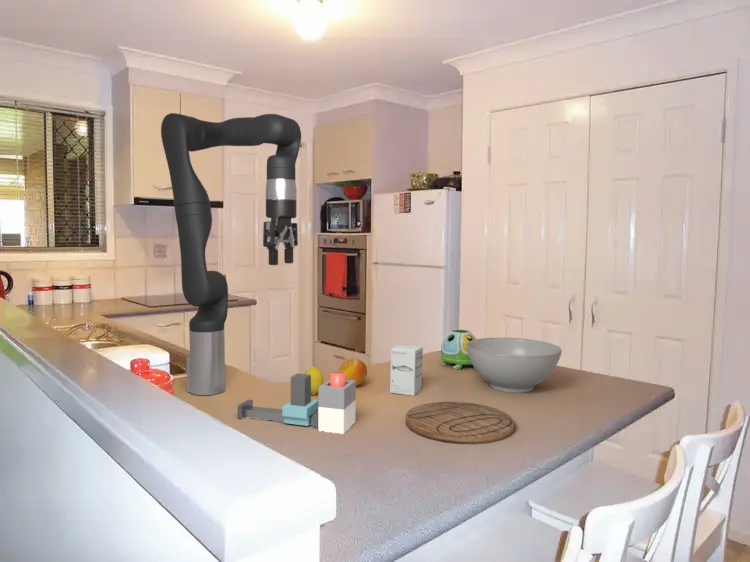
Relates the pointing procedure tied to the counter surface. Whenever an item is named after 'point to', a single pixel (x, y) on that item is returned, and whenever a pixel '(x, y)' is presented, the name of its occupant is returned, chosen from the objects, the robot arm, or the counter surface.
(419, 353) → the supplement box
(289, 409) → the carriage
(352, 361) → the fruit
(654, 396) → the counter surface
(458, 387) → the counter surface
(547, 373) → the decorative bowl
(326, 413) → the grey and white block
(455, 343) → the turtle holder
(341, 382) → the button
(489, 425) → the trivet
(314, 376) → the lemon
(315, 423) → the rail
